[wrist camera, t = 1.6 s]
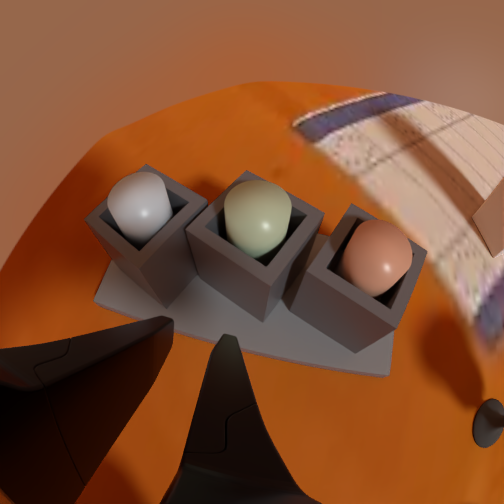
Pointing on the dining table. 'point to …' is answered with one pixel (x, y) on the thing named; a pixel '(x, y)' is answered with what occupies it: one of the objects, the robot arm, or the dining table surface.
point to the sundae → (488, 423)
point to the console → (254, 284)
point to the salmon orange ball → (375, 258)
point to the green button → (257, 219)
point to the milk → (492, 220)
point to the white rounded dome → (140, 207)
